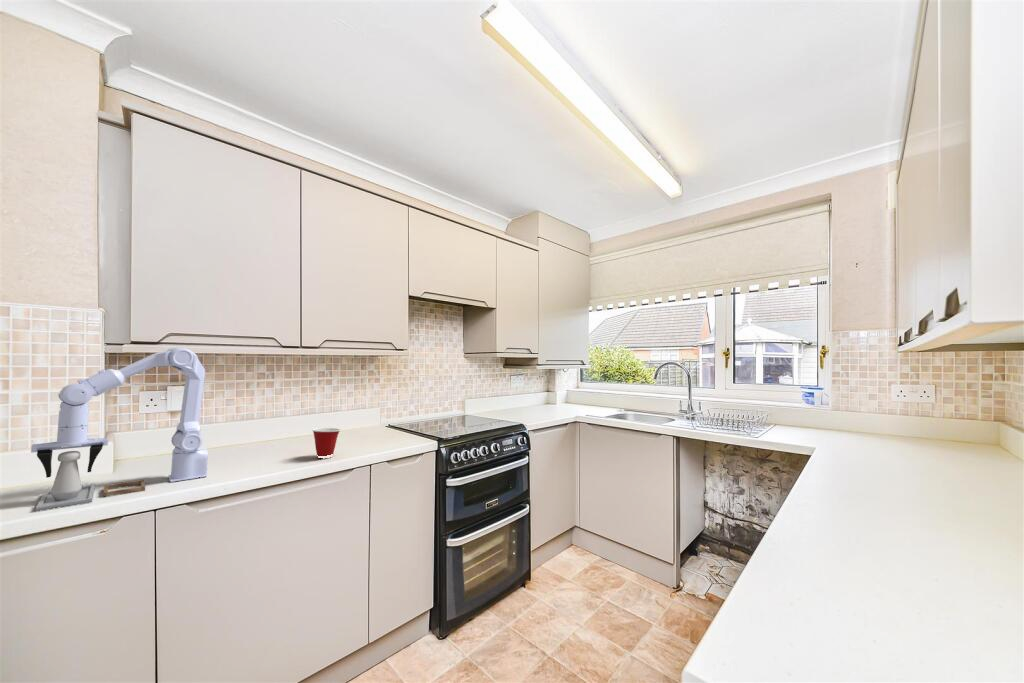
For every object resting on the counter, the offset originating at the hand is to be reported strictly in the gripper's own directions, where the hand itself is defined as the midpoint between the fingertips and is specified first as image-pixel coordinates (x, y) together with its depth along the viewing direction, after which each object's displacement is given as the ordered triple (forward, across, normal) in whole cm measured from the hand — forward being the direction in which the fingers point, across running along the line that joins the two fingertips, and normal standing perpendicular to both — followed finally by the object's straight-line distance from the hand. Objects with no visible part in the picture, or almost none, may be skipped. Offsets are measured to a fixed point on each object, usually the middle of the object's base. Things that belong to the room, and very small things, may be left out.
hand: (69, 473), depth 111 cm
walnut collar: (+7, -12, 0) cm, 13 cm away
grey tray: (+7, 0, 0) cm, 7 cm away
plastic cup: (+7, -71, -2) cm, 71 cm away
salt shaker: (+7, 0, 0) cm, 7 cm away
